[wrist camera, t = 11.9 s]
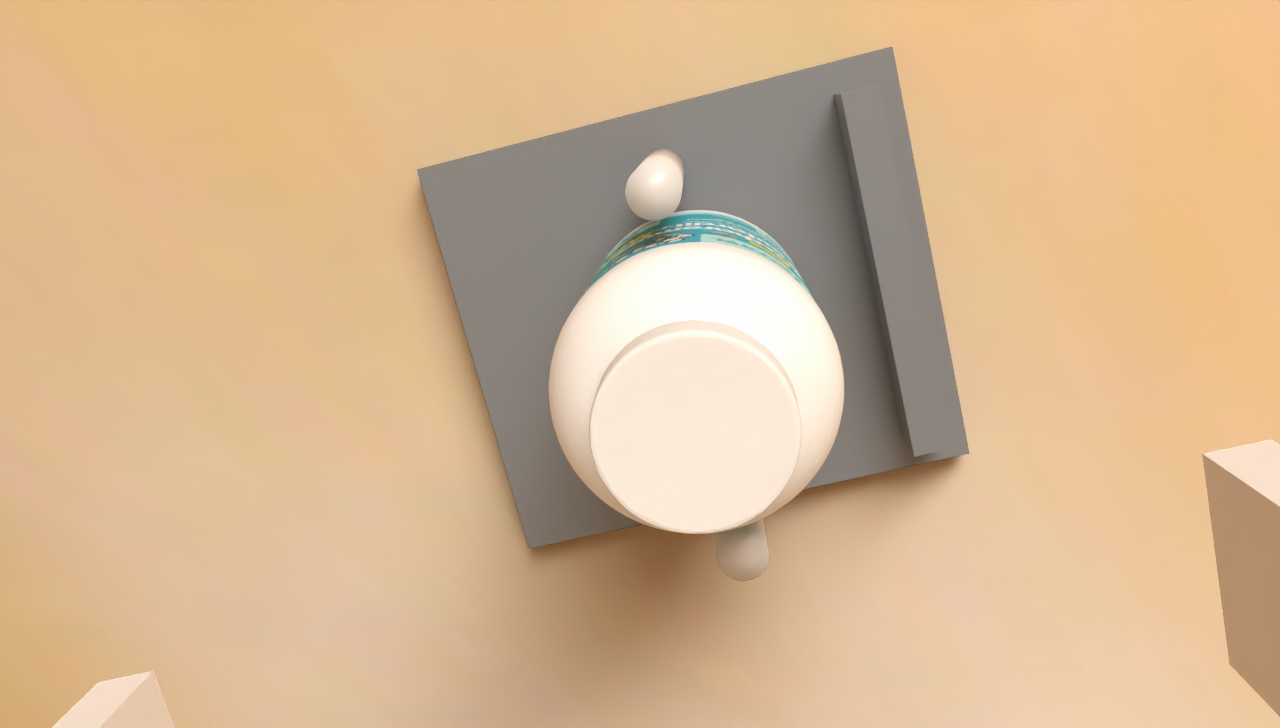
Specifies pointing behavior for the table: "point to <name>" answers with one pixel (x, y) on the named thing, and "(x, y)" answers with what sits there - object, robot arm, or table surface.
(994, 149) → the table surface
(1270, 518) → the robot arm
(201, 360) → the table surface
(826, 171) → the grey peg board
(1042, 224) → the table surface
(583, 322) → the pill bottle
